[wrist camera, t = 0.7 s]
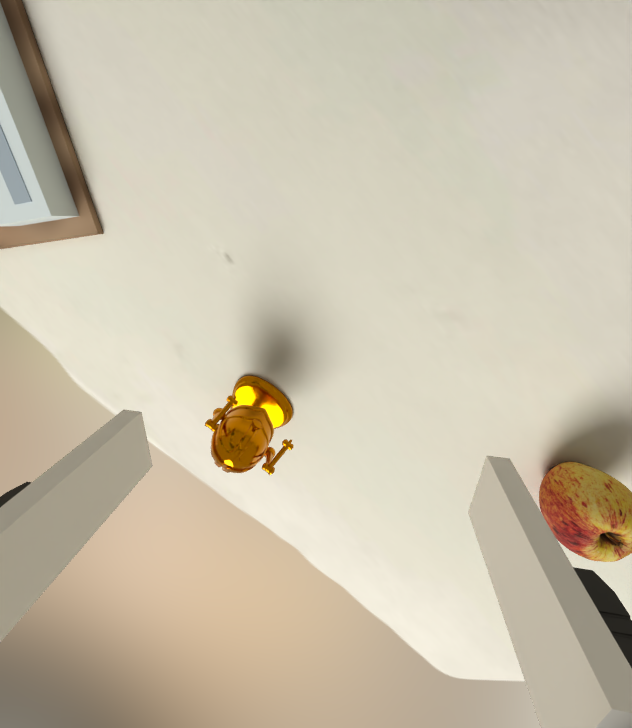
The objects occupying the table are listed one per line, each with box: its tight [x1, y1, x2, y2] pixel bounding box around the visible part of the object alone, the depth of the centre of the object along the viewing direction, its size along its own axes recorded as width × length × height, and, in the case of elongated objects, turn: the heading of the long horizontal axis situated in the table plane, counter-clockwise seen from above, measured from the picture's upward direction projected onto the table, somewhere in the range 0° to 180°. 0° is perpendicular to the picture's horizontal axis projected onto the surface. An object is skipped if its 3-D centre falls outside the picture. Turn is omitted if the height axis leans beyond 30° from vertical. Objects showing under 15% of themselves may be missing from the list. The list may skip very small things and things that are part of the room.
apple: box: [539, 462, 632, 562], centre depth 37 cm, size 9×9×10 cm
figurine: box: [205, 375, 293, 475], centre depth 38 cm, size 9×11×12 cm
